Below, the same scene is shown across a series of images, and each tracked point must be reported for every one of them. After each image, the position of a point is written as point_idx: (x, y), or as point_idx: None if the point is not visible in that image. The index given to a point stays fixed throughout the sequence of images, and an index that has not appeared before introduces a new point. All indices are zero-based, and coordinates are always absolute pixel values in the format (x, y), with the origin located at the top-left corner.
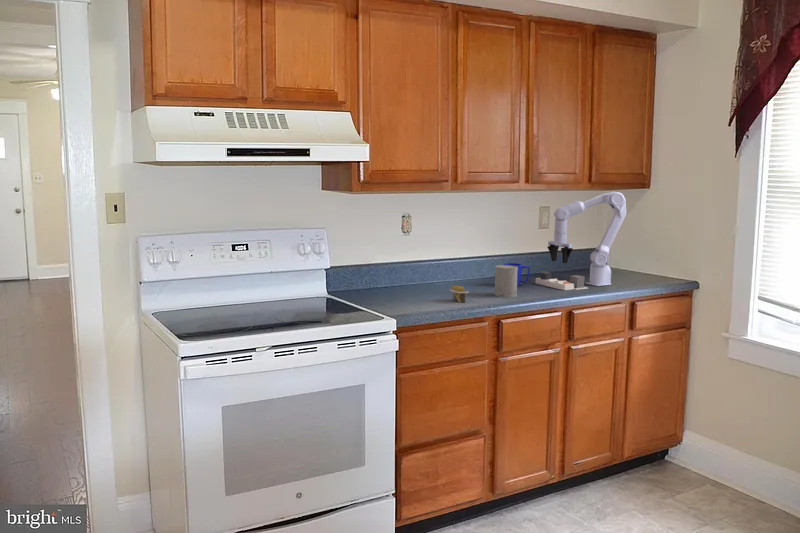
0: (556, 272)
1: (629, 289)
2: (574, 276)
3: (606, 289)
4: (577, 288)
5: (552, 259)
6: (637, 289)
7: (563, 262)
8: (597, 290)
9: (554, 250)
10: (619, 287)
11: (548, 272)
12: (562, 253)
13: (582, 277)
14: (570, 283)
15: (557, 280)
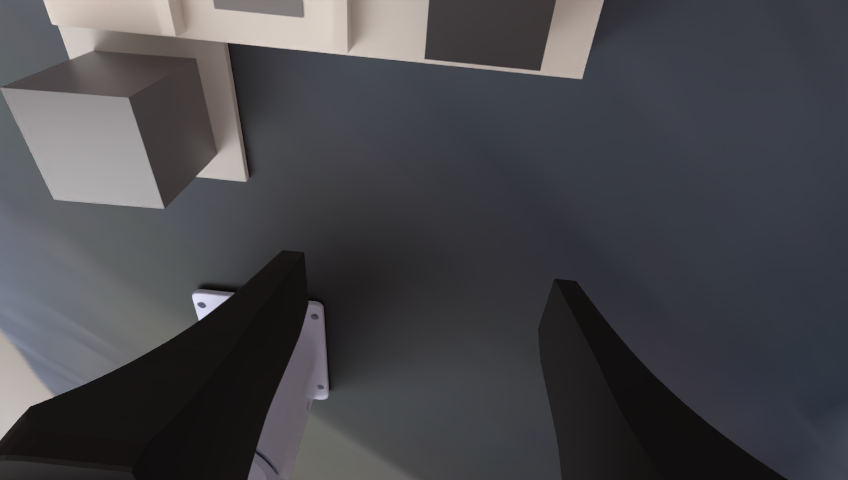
0: (774, 465)
1: (47, 346)
2: (78, 112)
3: (59, 247)
4: (79, 46)
5: (561, 291)
6: (43, 374)
7: (282, 253)
8: (15, 160)
9: (593, 477)
10: (129, 355)
11: (486, 56)
12: (211, 358)
13: (44, 166)
14: (80, 2)
15: (330, 41)
